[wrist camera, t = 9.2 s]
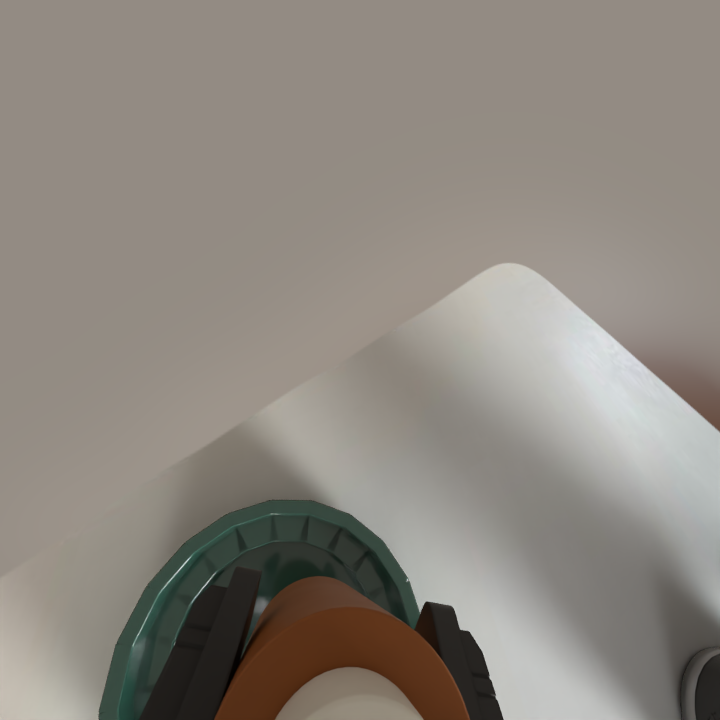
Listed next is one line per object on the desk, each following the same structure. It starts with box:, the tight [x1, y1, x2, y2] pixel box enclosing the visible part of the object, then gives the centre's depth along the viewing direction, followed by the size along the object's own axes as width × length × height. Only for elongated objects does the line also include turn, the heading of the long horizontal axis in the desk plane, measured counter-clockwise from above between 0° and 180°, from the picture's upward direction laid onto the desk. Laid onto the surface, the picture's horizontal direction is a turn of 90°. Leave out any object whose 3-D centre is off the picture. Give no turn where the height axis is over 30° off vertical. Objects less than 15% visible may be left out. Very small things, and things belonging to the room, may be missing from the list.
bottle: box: [214, 576, 470, 720], centre depth 9 cm, size 5×5×10 cm
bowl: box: [99, 500, 420, 720], centre depth 20 cm, size 16×16×4 cm
